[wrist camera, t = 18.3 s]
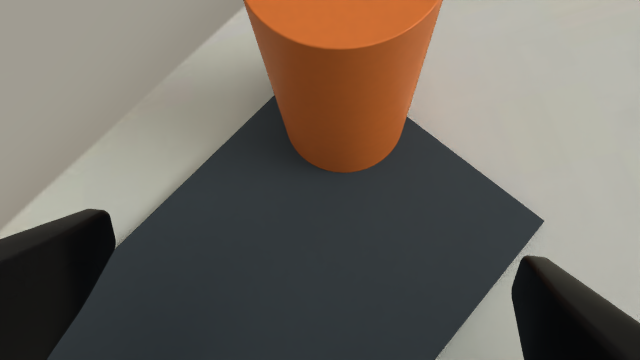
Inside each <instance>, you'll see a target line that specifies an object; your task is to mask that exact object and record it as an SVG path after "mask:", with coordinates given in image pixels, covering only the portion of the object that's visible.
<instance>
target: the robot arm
mask: <svg viewBox="0 0 640 360" xmlns="http://www.w3.org/2000/svg"><path fill="white" fill-rule="evenodd" d="M115 245H116V240H115V235H114V231H113V227H112V223H111V218H110V215H109V214H108V212H106V211H104V210H96V209H86V210H83V211H80V212H77V213H74V214H72V215H69V216H66V217H63V218H60V219H57V220H54V221H51V222H49V223H46V224H43V225H40V226H37V227H34V228H31V229H28V230H26V231H23V232H20V233H17V234H14V235H11V236H8V237H5V238H2V239H0V360H47V358H48V357H49V355H50V354H51V353H52V351H53V350H54V348H55V347H56V345H57V344H58V342H59V341H60V340H61V338H62V337H63V335H64V334H65V332H66V331H67V330H68V328H69V327H70V325H71V324H72V322H73V321H74V319H75V318H76V317H77V315H78V313H79V312H80V310H81V309H82V307H83V306H84V304H85V302H86V301H87V299H88V297H89V295H90V294H91V292H92V290H93V288H94V286H95V285H96V283H97V281H98V279H99V277H100V276H101V274H102V272H103V270H104V268H105V267H106V265H107V263H108V261H109V259H110V258H111V256H112V254H113V252H114V249H115ZM512 301H513V306H514V311H515V316H516V321H517V326H518V331H519V336H520V342H521V347H522V352H523V357H524V360H640V323H639V322H637V321H636V320H634V319H633V318H632V317H630V316H629V315H627V314H626V313H624V312H623V311H622V310H620V309H619V308H617V307H616V306H614V305H613V304H612V303H610V302H609V301H607V300H606V299H604V298H603V297H602V296H600V295H599V294H597V293H596V292H594V291H593V290H592V289H590V288H589V287H587V286H586V285H584V284H583V283H582V282H580V281H579V280H577V279H576V278H574V277H573V276H572V275H570V274H569V273H567V272H566V271H564V270H563V269H562V268H560V267H559V266H557V265H556V264H554V263H553V262H552V261H550V260H549V259H547V258H545V257H538V256H528V255H527V256H524V257H523V258H522V259H521V261H520V264H519V267H518V270H517V273H516V276H515V279H514V282H513V286H512Z"/></svg>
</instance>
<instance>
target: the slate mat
mask: <svg viewBox="0 0 640 360" xmlns="http://www.w3.org/2000/svg"><path fill="white" fill-rule="evenodd" d="M543 222H544V220H542V219H541V218H540V217H538V216H537V215H536V214H534V213H533V212H532V211H531V210H529V209H528V208H527V207H525V206H524V205H523V204H521V203H520V202H519V201H517V200H516V199H515V198H513V197H512V196H511V195H509V194H508V193H507V192H505V191H504V190H503V189H502V188H500V187H499V186H498V185H496V184H495V183H494V182H492V181H491V180H490V179H488V178H487V177H486V176H484V175H483V174H482V173H480V172H479V171H478V170H476V169H475V168H474V167H473V166H471V165H470V164H469V163H467V162H466V161H465V160H463V159H462V158H461V157H459V156H458V155H457V154H455V153H454V152H453V151H451V150H450V149H449V148H447V147H446V146H445V145H444V144H442V143H441V142H440V141H438V140H437V139H436V138H434V137H433V136H432V135H430V134H429V133H428V132H426V131H425V130H424V129H422V128H421V127H420V126H418V125H417V124H416V123H415V122H413V121H412V120H411V119H409V118H408V117H406V120H405V123H404V127H403V130H402V133H401V136H400V138H399V140H398V142H397V144H396V146H395V147H394V149H393V150H392V151H391V152H390V153H389V154H388V155H387V156H386V157H385V158H384V159H383V160H382V161H380V162H379V163H377V164H375V165H374V166H371V167H369V168H367V169H364V170H361V171H356V172H348V173H340V172H332V171H327V170H324V169H321V168H319V167H317V166H315V165H313V164H311V163H310V162H308V161H306V160H305V159H304V158H303V157H302V156H301V155H300V154H299V153H298V152H297V151H296V149H295V148H294V146H293V145H292V143H291V141H290V139H289V137H288V134H287V131H286V128H285V125H284V122H283V118H282V115H281V112H280V109H279V106H278V103H277V100H276V97H275V95H274V96H273V97H272V98H271V99H270V100H269V101H268V102H267V103H266V104H265V105H264V106H263V107H262V108H261V109H260V110H259V111H258V112H257V113H256V114H255V115H254V116H252V117H251V118H250V119H249V120H248V121H247V122H246V123H245V124H244V125H243V126H242V127H241V128H240V129H239V130H238V131H237V132H236V133H235V134H234V135H233V136H232V137H231V138H230V139H229V140H228V141H227V142H226V143H225V144H223V145H222V146H221V147H220V148H219V149H218V150H217V151H216V152H215V153H214V154H213V155H212V156H211V157H210V158H209V159H208V160H207V161H206V162H205V163H204V164H203V165H202V166H201V167H200V168H199V169H198V170H197V171H195V172H194V173H193V174H192V175H191V176H190V177H189V178H188V179H187V180H186V181H185V182H184V183H183V184H182V185H181V186H180V187H179V188H178V189H177V190H176V191H175V192H174V193H173V194H172V195H171V196H170V197H169V198H168V199H166V200H165V201H164V202H163V203H162V204H161V205H160V206H159V207H158V208H157V209H156V210H155V211H154V212H153V213H152V214H151V215H150V216H149V217H148V218H147V219H146V220H145V221H144V222H143V223H142V224H141V225H140V226H139V227H137V228H136V229H135V230H134V231H133V232H132V233H131V234H130V235H129V236H128V237H127V238H126V239H125V240H124V241H123V242H122V243H121V244H120V245H119V246H118V247H117V248H116V249H115V250H114V252H113V254H112V256H111V258H110V259H109V261H108V263H107V265H106V267H105V268H104V270H103V272H102V274H101V276H100V277H99V279H98V281H97V283H96V285H95V286H94V288H93V290H92V292H91V294H90V295H89V297H88V299H87V301H86V302H85V304H84V306H83V307H82V309H81V310H80V312H79V313H78V315H77V317H76V318H75V319H74V321H73V322H72V324H71V325H70V327H69V328H68V330H67V331H66V332H65V334H64V335H63V337H62V338H61V340H60V341H59V342H58V344H57V345H56V347H55V348H54V350H53V351H52V353H51V354H50V355H49V357H48V358H47V360H435V359H436V357H437V356H438V355H439V354H440V352H441V351H442V350H443V349H444V347H445V346H446V345H447V343H448V342H449V341H450V340H451V338H452V337H453V336H454V335H455V333H456V332H457V331H458V330H459V328H460V327H461V326H462V325H463V323H464V322H465V321H466V319H467V318H468V317H469V316H470V314H471V313H472V312H473V311H474V309H475V308H476V307H477V306H478V304H479V303H480V302H481V301H482V299H483V298H484V297H485V295H486V294H487V293H488V292H489V290H490V289H491V288H492V287H493V285H494V284H495V283H496V282H497V280H498V279H499V278H500V277H501V275H502V274H503V273H504V271H505V270H506V269H507V268H508V266H509V265H510V264H511V263H512V261H513V260H514V259H515V258H516V256H517V255H518V254H519V253H520V251H521V250H522V249H523V247H524V246H525V245H526V244H527V242H528V241H529V240H530V239H531V237H532V236H533V235H534V234H535V232H536V231H537V230H538V229H539V227H540V226H541V225H542V223H543Z"/></svg>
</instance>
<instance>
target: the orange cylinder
mask: <svg viewBox="0 0 640 360" xmlns="http://www.w3.org/2000/svg"><path fill="white" fill-rule="evenodd" d="M243 1H244V3H245V7H246V10H247V13H248V16H249V19H250V22H251V25H252V28H253V31H254V34H255V37H256V40H257V43H258V46H259V49H260V52H261V55H262V58H263V61H264V64H265V67H266V70H267V73H268V76H269V79H270V82H271V85H272V88H273V91H274V94H275V97H276V100H277V103H278V106H279V109H280V112H281V115H282V118H283V122H284V125H285V128H286V131H287V134H288V137H289V139H290V141H291V143H292V145H293V146H294V148H295V149H296V151H297V152H298V153H299V154H300V155H301V156H302V157H303V158H304V159H305V160H306V161H308V162H310V163H311V164H313V165H315V166H317V167H319V168H321V169H324V170H327V171H332V172H340V173H348V172H356V171H361V170H364V169H367V168H369V167H371V166H374V165H375V164H377V163H379V162H380V161H382V160H383V159H384V158H385V157H386V156H387V155H388V154H389V153H390V152H391V151H392V150H393V149H394V147H395V146H396V144H397V142H398V140H399V138H400V136H401V133H402V130H403V127H404V123H405V120H406V117H407V114H408V111H409V107H410V104H411V101H412V98H413V94H414V91H415V88H416V85H417V82H418V78H419V75H420V72H421V69H422V66H423V62H424V59H425V56H426V53H427V49H428V46H429V43H430V40H431V37H432V33H433V30H434V27H435V24H436V21H437V17H438V14H439V11H440V8H441V4H442V1H443V0H243Z"/></svg>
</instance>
